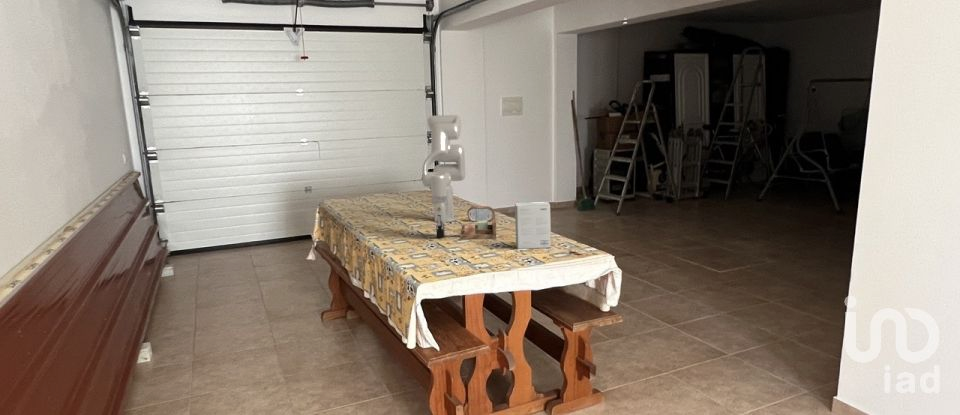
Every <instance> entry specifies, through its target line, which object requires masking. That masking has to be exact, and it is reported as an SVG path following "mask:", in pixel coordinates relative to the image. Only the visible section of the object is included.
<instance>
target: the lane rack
mask: <svg viewBox="0 0 960 415" xmlns="http://www.w3.org/2000/svg"><path fill="white" fill-rule="evenodd" d="M491 221H492V222H491V223H492V224H488V229H483V230H478V224H474V225H475V235H465V226H470V225H471V224H465V225H461V230H460V234H459V235H460V237H459V240H460V241H461V240H462V241H463V240H467V241H468V240H496V239H497V220H496V212H495V213H492V220H491ZM490 228H492V229H490Z"/></svg>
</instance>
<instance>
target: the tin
mask: <svg viewBox="0 0 960 415" xmlns="http://www.w3.org/2000/svg"><path fill="white" fill-rule="evenodd" d="M492 213H495V214H496V212H495V211H494V208H493V207H491V206H488V205H487V206H485V205H483V206H482V205H475V206H474V205H473V206H471V207H470V208H469V209H467V214H466V216H467V218H468V219H469V221H471V222H473V223H474V222H475V223H476V222H477V223H478V221H489V222H491V221H492Z"/></svg>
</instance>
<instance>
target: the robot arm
mask: <svg viewBox="0 0 960 415" xmlns="http://www.w3.org/2000/svg"><path fill="white" fill-rule="evenodd" d="M427 125H428V127H429V128H428V129H429V130H430V131H431V132H430V133H431V135H430V137H431V139H430V142H431V144H430V145H431V147H430V148H431V150H430V154H429V155H428V156H427V157H426V159H425V160H424V162H423V164H422V168H421V169H422V170H421V171H422V174H421V176H422V178H421V179H422V184H423V186H424V187H426V188H430V191H431V192H430V194H431V203H432V204H433V206H434V213H430V212H429V213H428V218H429V217H430V218H433V219H434V222H435V224H436V225H437V231H436V238H437V237H444V232H443V225H444V224H445V223H451V222H455V221H457V217H456V216H455V213H454V212H455V208H454V189H453V187H452V185H451V183H452V182H460V181H464V180H465V177H466V160H465V159H466V158H465V149H464V147H463V145H461V144H451V140H453V141H454V140H459V138H460V136H461V129H462V128H461V127H462V120H461V117H460V116H459V115H456V114H451V115H449V114H448V115H447V114H446V115H445V114H442V115H439V114H438V115H431V116H429V117H428V118H427ZM434 162H439V163H440V164H437V165H434V167H433V171H429V168H430V166H431V165H432V164H433V163H434ZM441 224H442V225H441ZM444 238H445V237H444Z"/></svg>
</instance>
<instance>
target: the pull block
mask: <svg viewBox="0 0 960 415" xmlns="http://www.w3.org/2000/svg"><path fill="white" fill-rule="evenodd" d="M441 225H442V224H441ZM469 225H470V226H465V229H464V230H465V234H464V235H476V234H475V230H476V229H475V225H476V224H469ZM435 226H436V228H435V230H436V231H435V232H437V224H436V225H435ZM445 230H446V229H445V224H443V232H444V237H437V236H436V238H437V239H444V238H460V235H461V234H446V232H445Z"/></svg>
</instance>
